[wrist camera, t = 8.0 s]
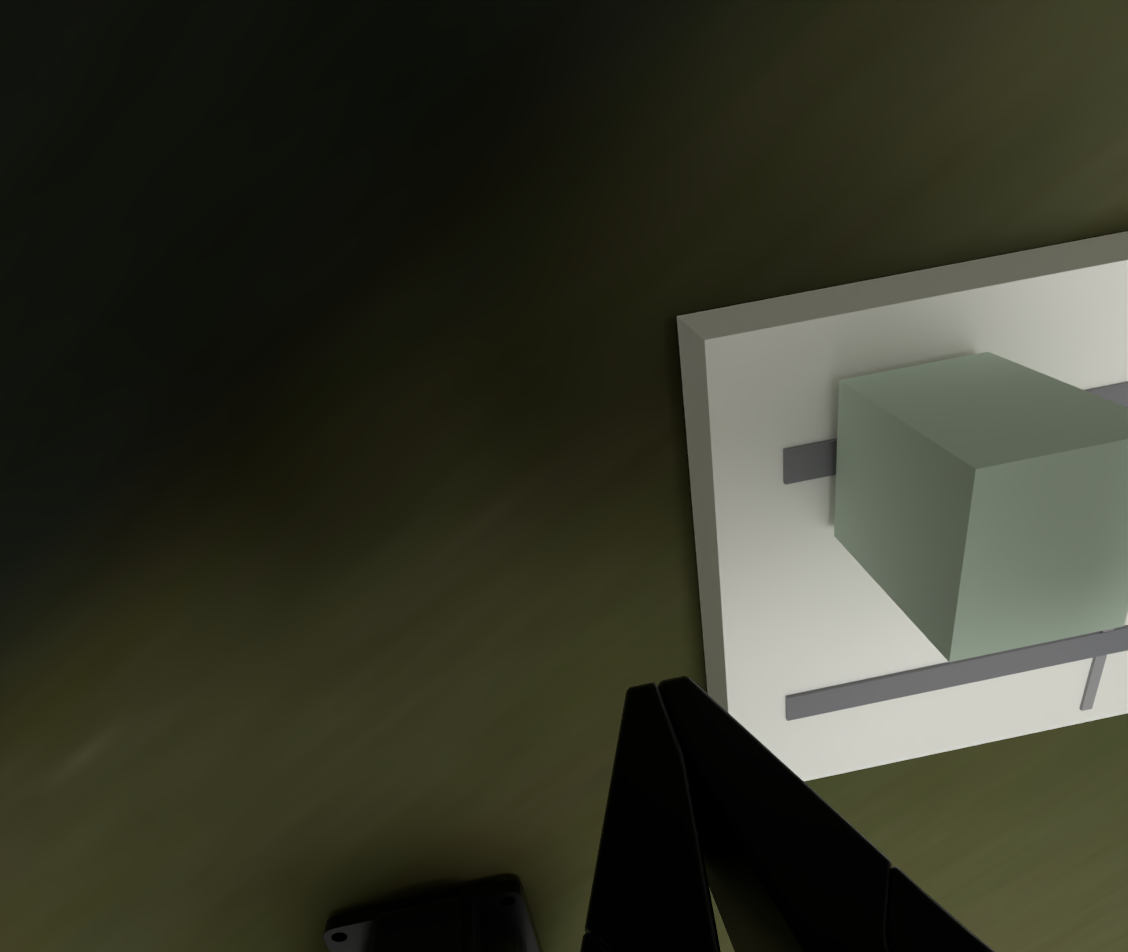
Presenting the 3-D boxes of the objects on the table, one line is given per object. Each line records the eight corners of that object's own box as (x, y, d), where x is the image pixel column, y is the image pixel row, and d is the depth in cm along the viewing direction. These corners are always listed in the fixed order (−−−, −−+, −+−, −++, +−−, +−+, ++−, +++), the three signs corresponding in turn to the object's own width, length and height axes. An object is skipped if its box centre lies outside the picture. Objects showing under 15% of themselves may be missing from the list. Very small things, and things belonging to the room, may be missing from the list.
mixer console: (1336, 608, 21) (1420, 654, 19) (711, 739, 20) (735, 799, 18) (1549, 151, 15) (1701, 152, 13) (676, 316, 14) (706, 341, 12)
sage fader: (966, 509, 15) (1123, 626, 11) (834, 536, 15) (949, 662, 11) (988, 351, 13) (1180, 428, 9) (838, 379, 13) (976, 468, 9)
